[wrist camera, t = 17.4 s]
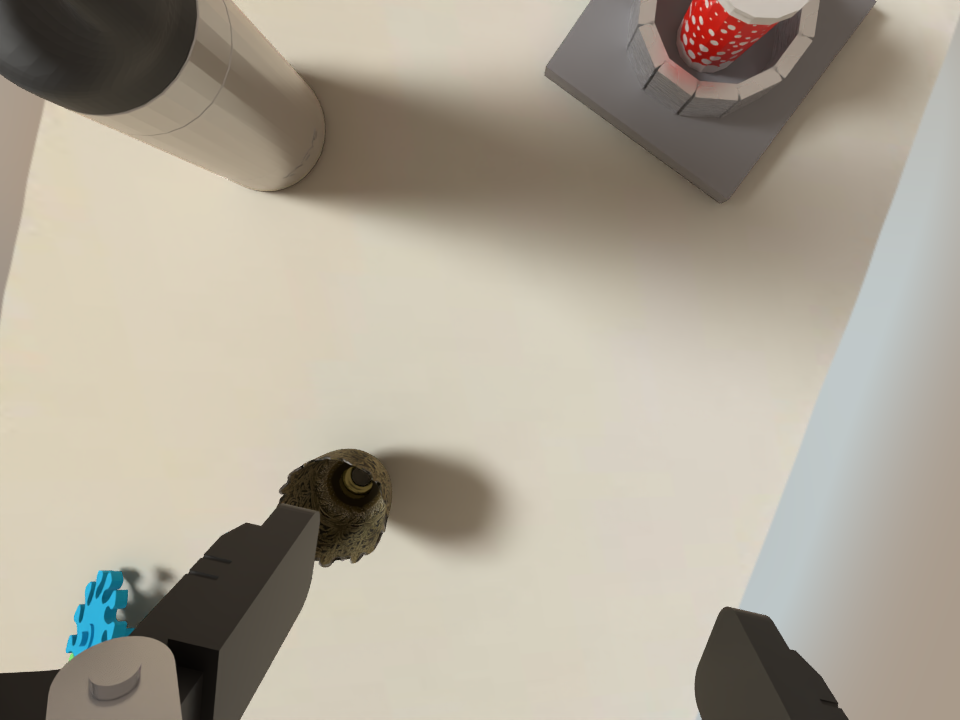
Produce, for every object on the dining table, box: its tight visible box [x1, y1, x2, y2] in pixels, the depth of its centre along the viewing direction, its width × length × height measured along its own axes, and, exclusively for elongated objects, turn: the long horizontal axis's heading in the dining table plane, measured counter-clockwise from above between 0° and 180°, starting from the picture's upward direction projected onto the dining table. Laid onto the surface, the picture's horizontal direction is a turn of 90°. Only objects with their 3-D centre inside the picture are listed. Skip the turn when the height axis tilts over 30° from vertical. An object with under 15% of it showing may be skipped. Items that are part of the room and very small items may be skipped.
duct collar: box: [626, 0, 820, 119], centre depth 36 cm, size 11×11×4 cm
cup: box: [277, 449, 392, 567], centre depth 40 cm, size 8×7×8 cm
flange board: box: [545, 0, 877, 203], centre depth 39 cm, size 16×16×2 cm
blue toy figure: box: [66, 571, 135, 661], centre depth 44 cm, size 11×6×10 cm
